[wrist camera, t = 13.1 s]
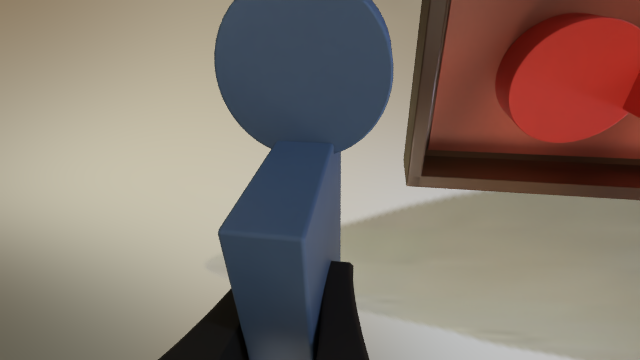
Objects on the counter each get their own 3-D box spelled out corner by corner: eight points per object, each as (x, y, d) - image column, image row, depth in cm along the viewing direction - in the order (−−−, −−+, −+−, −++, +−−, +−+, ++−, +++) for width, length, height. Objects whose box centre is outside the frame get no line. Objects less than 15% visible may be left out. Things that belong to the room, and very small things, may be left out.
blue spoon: (371, 311, 15) (365, 469, 10) (276, 299, 15) (228, 442, 11) (399, -33, 8) (421, -48, 3) (228, -26, 9) (42, -30, 4)
